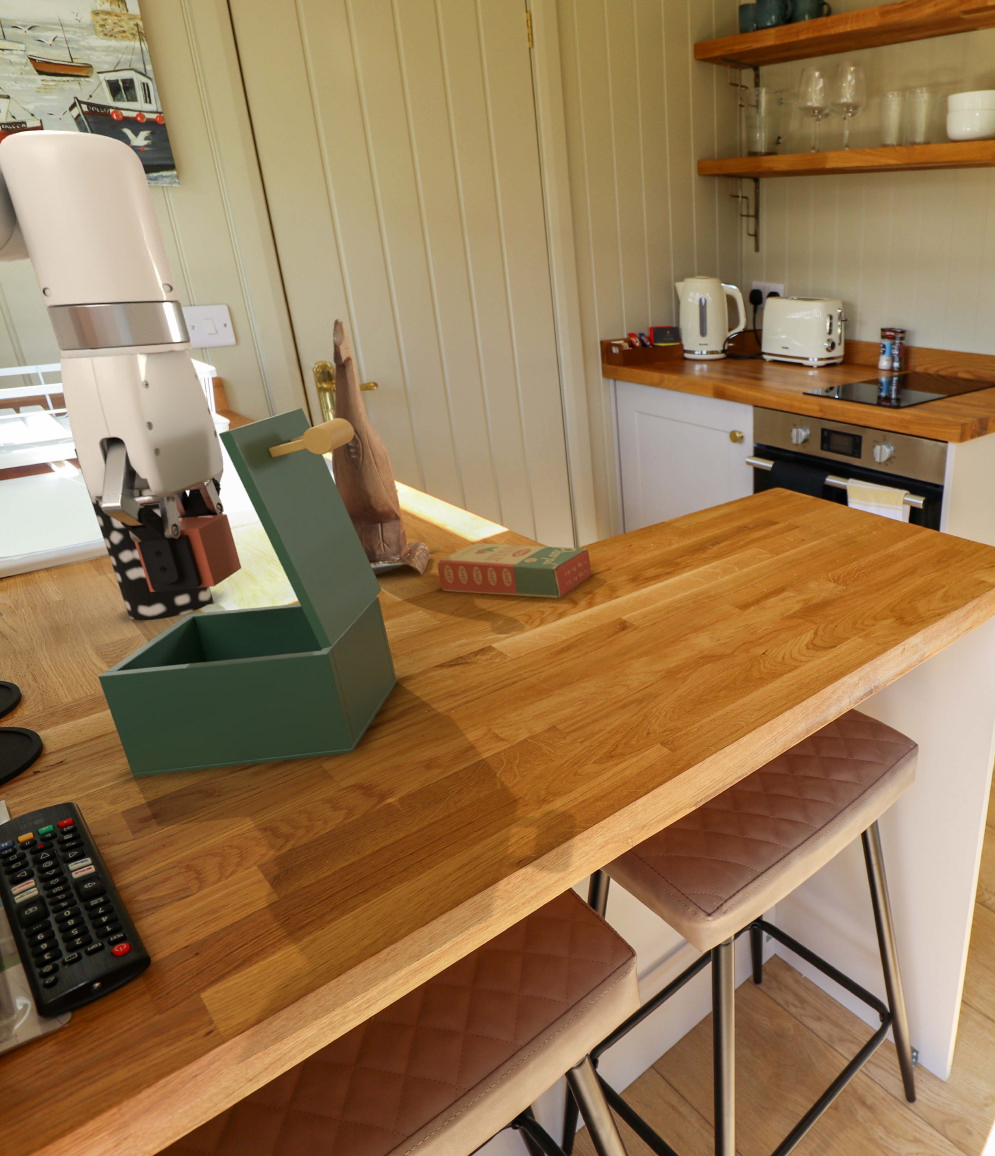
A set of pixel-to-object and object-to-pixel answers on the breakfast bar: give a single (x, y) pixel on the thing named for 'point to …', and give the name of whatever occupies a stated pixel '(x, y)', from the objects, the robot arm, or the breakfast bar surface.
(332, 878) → the breakfast bar surface
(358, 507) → the bird sculpture
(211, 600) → the white-spotted black cylinder
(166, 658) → the chest
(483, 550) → the carton
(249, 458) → the chest lid
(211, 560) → the block
